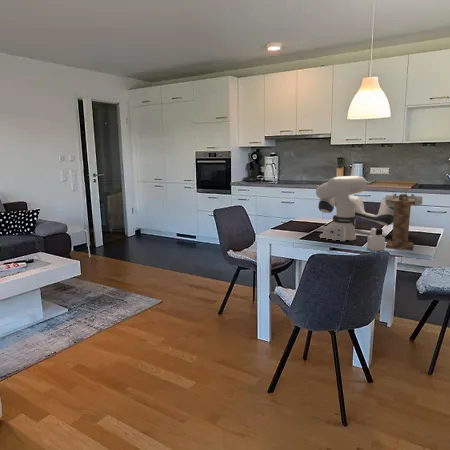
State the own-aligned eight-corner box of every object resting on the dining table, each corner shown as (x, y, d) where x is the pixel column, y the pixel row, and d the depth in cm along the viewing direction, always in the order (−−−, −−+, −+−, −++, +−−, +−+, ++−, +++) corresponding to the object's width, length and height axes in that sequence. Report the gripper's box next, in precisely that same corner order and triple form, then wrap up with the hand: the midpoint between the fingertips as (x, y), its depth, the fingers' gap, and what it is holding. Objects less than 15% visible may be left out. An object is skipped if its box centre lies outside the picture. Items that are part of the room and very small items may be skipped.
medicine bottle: (379, 247, 220) (380, 226, 218) (384, 250, 213) (386, 229, 211) (366, 247, 220) (368, 227, 217) (371, 250, 213) (373, 229, 210)
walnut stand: (385, 247, 219) (388, 200, 213) (387, 242, 229) (390, 197, 224) (413, 250, 213) (417, 201, 207) (413, 245, 223) (416, 198, 218)
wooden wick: (399, 200, 215) (399, 194, 214) (399, 196, 229) (400, 191, 228) (406, 200, 213) (407, 195, 212) (407, 196, 227) (407, 191, 226)
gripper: (421, 209, 231) (423, 200, 219) (385, 207, 240) (384, 199, 228) (422, 199, 233) (423, 190, 221) (386, 198, 241) (385, 189, 229)
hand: (403, 195), depth 224 cm, fingers open, 8 cm apart
